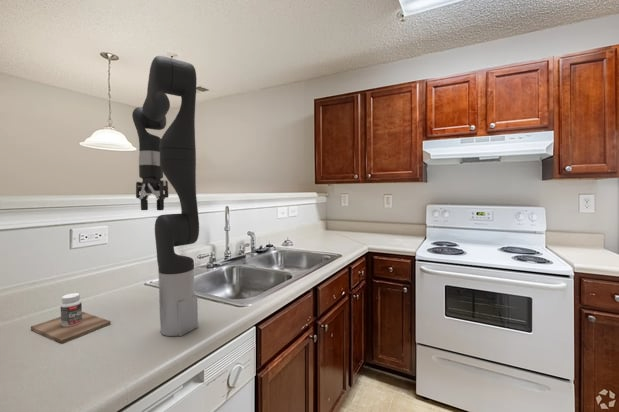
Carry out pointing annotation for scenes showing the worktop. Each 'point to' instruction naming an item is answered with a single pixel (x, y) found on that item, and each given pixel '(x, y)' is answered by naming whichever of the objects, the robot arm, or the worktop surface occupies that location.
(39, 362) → the worktop surface
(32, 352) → the worktop surface
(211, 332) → the worktop surface
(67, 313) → the pill bottle
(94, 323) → the walnut board
